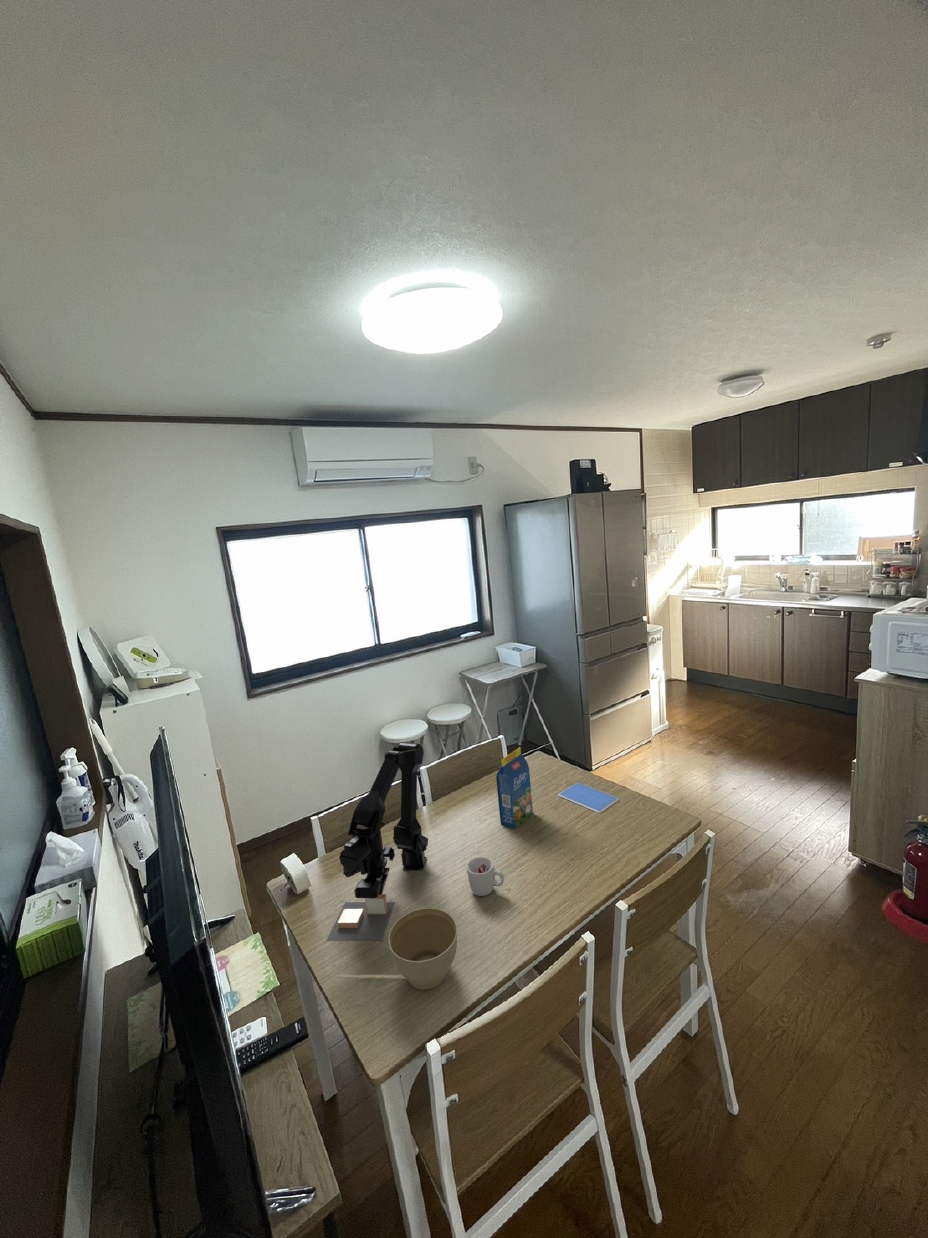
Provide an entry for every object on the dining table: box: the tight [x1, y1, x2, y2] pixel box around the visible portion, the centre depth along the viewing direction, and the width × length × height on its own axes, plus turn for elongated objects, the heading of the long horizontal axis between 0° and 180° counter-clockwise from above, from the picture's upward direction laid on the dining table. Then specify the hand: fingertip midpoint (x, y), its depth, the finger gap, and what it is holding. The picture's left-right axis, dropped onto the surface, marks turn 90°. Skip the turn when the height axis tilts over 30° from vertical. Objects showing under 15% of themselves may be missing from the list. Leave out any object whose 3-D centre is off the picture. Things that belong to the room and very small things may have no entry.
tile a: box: [364, 893, 388, 914], centre depth 140 cm, size 6×2×5 cm, turn 83°
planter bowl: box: [388, 907, 458, 991], centre depth 118 cm, size 16×16×11 cm
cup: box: [465, 856, 505, 897], centre depth 144 cm, size 11×8×8 cm
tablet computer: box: [558, 782, 620, 814], centre depth 189 cm, size 19×13×1 cm, turn 40°
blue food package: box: [495, 746, 534, 830], centre depth 178 cm, size 6×12×25 cm, turn 141°
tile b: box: [338, 909, 364, 928], centre depth 138 cm, size 6×2×5 cm
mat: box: [326, 901, 396, 942], centre depth 138 cm, size 15×14×1 cm
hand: (379, 898), depth 143 cm, fingers closed
